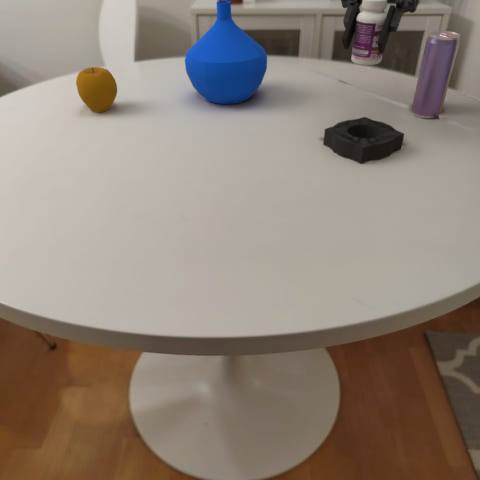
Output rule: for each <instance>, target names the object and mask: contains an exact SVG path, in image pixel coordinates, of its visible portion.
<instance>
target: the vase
mask: <svg viewBox="0 0 480 480" xmlns="http://www.w3.org/2000/svg"><path fill="white" fill-rule="evenodd" d="M186 51H187V52H186V53H185V58H184V64H185V72H186V75H187V77H188V79H189V81H190V83H191V85H192V87H193V88H194V89H195V90H196V92H197V93H198V94H199V95H200V96H201V97H203V98H204V99H205V100H206V101H208V102H210V103H214V104H219V105H232V104H238V103H239V104H240V103H242V102H244V101H247V100H248V99H250V97H252V96H253V95H254V94H255V93H256V92H257V90H258V89H259V88H260V86H261V85H262V82H263V80H264V77H265V74H266V72H267V69H268V55H267V52H266V49H265V48H264V47H263V46H262V45H261V44H260V43H258V42H257V41H256V40H255V39H253V38H252V37H251V36H250V35H248V34H247V33H246V32H245V31H244V30H243V29H242V28H241V27H239V26H238V25H237V24H236V22H235V20H234V19H233V16H232V2H231V0H218V1H216V19H215V22H214V23H213V25H212V26H211V27H210V28H209V29H208V30H207V31H206V32H205V33H204V34H203V36H202V37H201V38H199V39H198V40H197V41H196V42H195V43H194V44H193V45H192V46H191V47H190V48H189V49H188V50H186Z"/></svg>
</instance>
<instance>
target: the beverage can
mask: <svg viewBox="0 0 480 480" xmlns="http://www.w3.org/2000/svg"><path fill="white" fill-rule="evenodd" d="M460 39H461V34H460V33H458V32H455V31H449V30H435V31H429V33H428V37H427V38H426V41H425V45H424V49H423V54H422V59H421V63H420V68H419V72H418V77H417V81H416V85H415V91H414V95H413V100H412V104H411V109H410V110H411V113H412V115H413V116H415V117H417V118H419V119H421V118H422V119H435V118H437V117H439V115H438V114H441V113H442V112H443V107H444V103H445V99H446V96H447V93H448V88H449V85H450V81H451V77H452V73H453V70H454V67H455V66H454V65H455V61H456V58H457V55H458V51H459V47H460V43H461V41H460Z"/></svg>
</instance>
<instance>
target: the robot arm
mask: <svg viewBox="0 0 480 480" xmlns="http://www.w3.org/2000/svg"><path fill="white" fill-rule="evenodd" d="M340 1H341V2H340V3H341V6H342V9H346V10H345V14H344V16H343V19H342V21H343V22H342V23H343V27H344V32H343V36H342V37H341V42H342V46H343V50H349V49H350V46H351V44H352V42H353V41H352V40H353V39H354V32H355V24H356V18H357V15H358V14H359V13H360V12H361V9H360V7H361V6H362V1H363V0H340ZM419 2H420V0H395V4H390V5H389V7H388V10H387V12H386V13H387V16H386V19H385V22H384V25H383V28H382V31H381V34H380V37H379V40H378V43H377V44H378V51H379V53H383V54H384V53H385V49H386V46H387V43H388V40H389V37H390V35H391V33H396V32H397V31H398V30H399V26H400V23H401V20H402V17H403V15H404V14H406V13H411V14H413V13H415V12H416V11H417V8H418V5H419Z"/></svg>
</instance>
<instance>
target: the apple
mask: <svg viewBox="0 0 480 480" xmlns="http://www.w3.org/2000/svg"><path fill="white" fill-rule="evenodd" d="M75 84H76V90H77V93H78V97H80V99H81V101H82V102H83V103H84V104H85V106H86V107H87V108H88V109H89V110H91V111H92V112H95V113H106V112H107V111H108V110H110V109H111V108H112V106H113V104H114V101H115V99H116V98H117V95H118V85H117V81H116V79H115V77H114V76H113V74H112V73H111V72H110V70H109V69H107V68H104V67H97V66H91V67H87V68H83V69H81V70H80V71H79V72H78V74H77V76H76V81H75Z"/></svg>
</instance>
